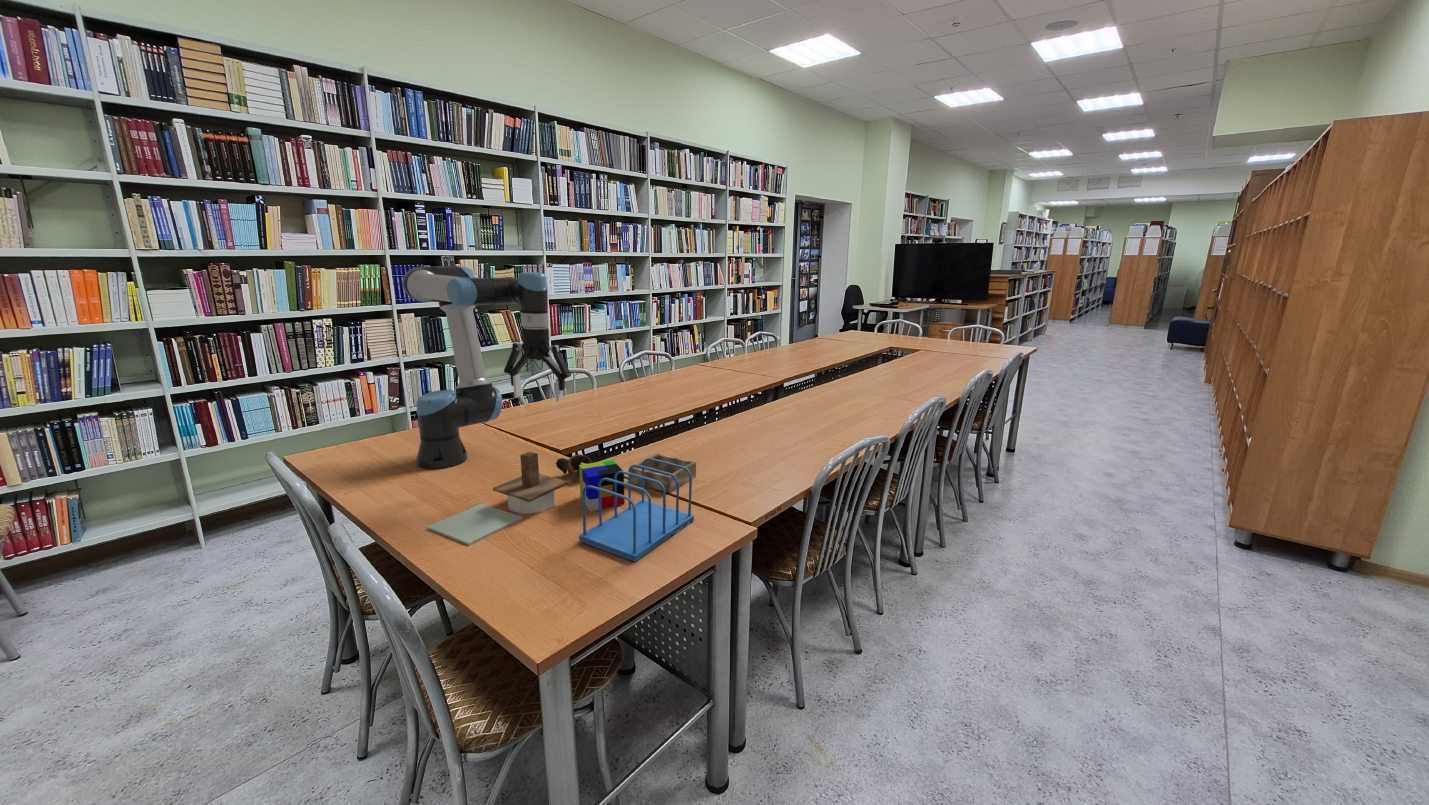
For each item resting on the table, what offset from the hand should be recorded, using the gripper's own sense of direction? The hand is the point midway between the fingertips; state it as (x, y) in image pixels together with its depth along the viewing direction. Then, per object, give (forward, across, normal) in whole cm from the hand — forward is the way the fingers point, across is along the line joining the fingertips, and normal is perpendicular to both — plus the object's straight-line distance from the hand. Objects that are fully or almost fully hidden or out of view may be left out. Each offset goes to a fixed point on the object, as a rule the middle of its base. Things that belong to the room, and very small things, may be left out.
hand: (538, 398), depth 161 cm
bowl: (+26, +6, -16) cm, 31 cm away
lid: (+21, +6, -16) cm, 27 cm away
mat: (+26, -2, -31) cm, 40 cm away
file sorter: (+26, +40, -24) cm, 53 cm away
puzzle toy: (+26, +24, -10) cm, 37 cm away
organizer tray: (+26, +36, +10) cm, 45 cm away
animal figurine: (+26, +8, +5) cm, 28 cm away
